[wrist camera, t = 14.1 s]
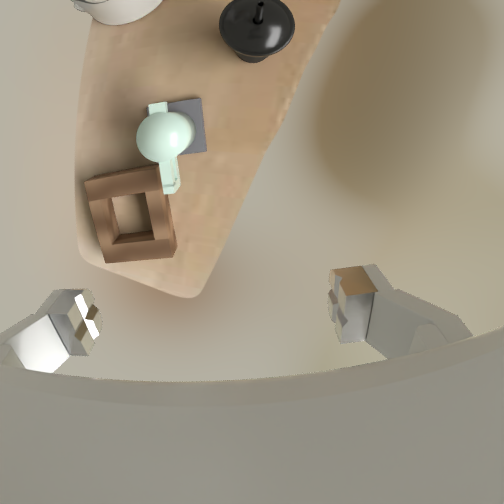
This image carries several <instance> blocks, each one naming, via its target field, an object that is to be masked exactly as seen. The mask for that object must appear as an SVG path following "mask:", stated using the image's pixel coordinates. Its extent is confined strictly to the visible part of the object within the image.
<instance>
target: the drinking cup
mask: <svg viewBox="0 0 504 504" xmlns="http://www.w3.org/2000/svg"><path fill="white" fill-rule="evenodd" d="M219 29H220V33H221V36H222V38H223V40H224V41H225V43H226V44H227V45H228V46H229V47H230V48H232V49H233V50H234V51H235V52H236V53H237V55H238V56H239V57H240V58H241V59H242V60H244V61H246V62H249V63H257V62H260V61H262V60H264V59H265V58H267V57H268V56H269V55H272V54H275V53H277V52H279V51H280V50H282V49H283V48H284V47H286V45H287V44H288V43H289V42H290V40H291V39H292V37H293V34H294V30H295V22H294V18H293V15H292V13H291V11H290V10H289V8H288V7H287V6H286V5H285V4H284V3H283V2H281V1H280V0H233V1H232V2H230V3H229V4H228V5H227V6H226V7H225V9H224V10H223V12H222V14H221V16H220V20H219Z"/></svg>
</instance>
